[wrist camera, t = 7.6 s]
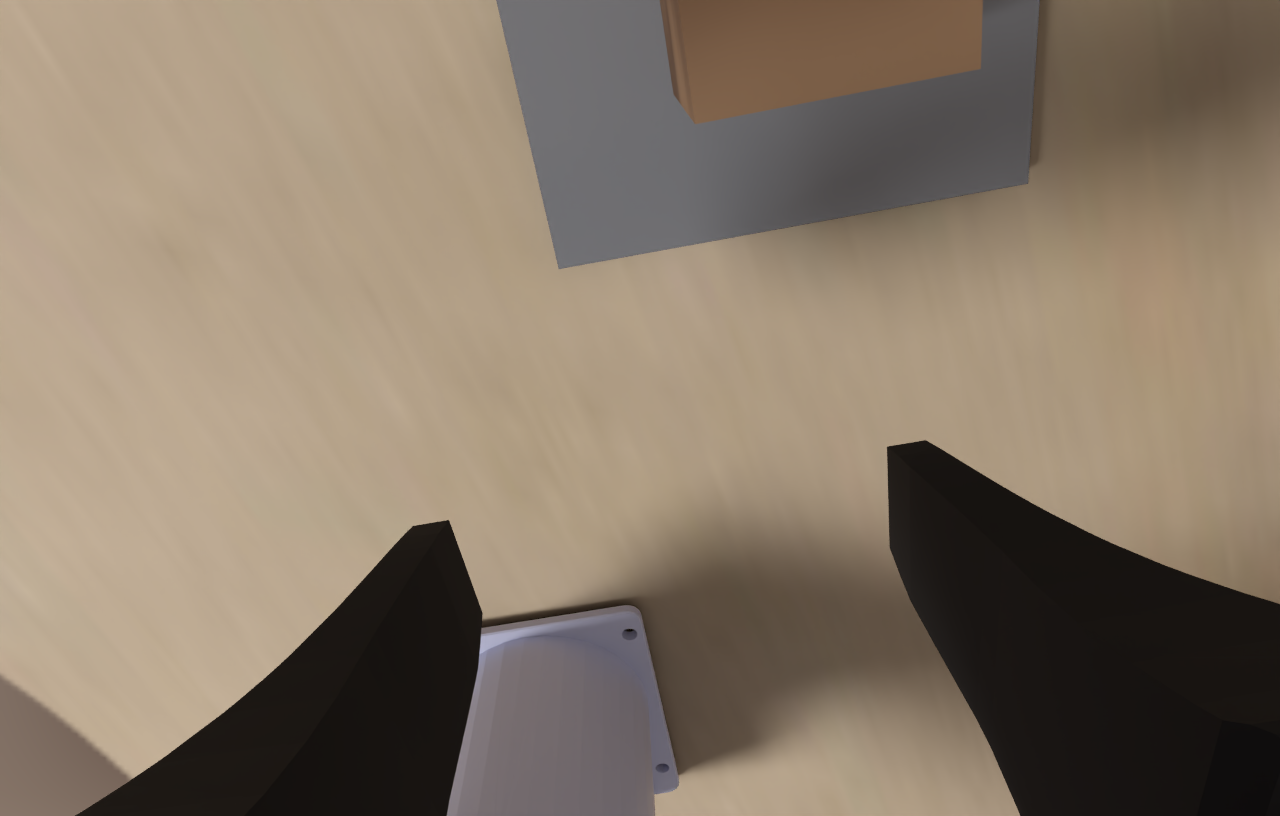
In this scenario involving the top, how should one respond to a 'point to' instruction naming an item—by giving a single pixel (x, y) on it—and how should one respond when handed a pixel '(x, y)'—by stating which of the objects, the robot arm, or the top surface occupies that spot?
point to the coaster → (746, 134)
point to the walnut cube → (810, 49)
